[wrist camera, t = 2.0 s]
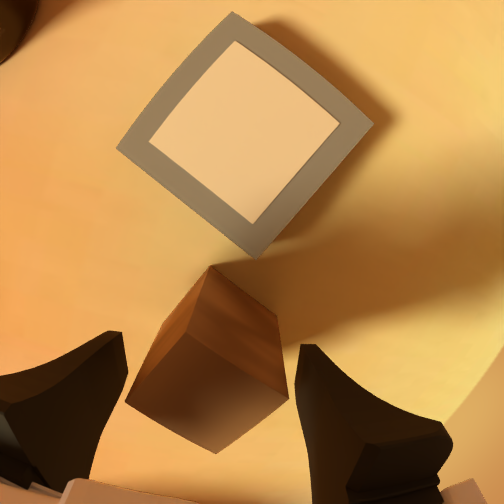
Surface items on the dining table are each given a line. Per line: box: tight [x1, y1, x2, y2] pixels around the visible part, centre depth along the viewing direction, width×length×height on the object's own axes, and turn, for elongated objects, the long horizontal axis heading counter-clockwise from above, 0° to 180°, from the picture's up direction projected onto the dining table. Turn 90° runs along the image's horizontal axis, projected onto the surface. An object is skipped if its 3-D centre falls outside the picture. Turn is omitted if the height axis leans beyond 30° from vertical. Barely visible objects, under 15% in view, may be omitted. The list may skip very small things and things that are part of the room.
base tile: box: [116, 12, 374, 260], centre depth 12 cm, size 7×7×2 cm
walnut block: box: [125, 266, 289, 454], centre depth 13 cm, size 4×4×6 cm
